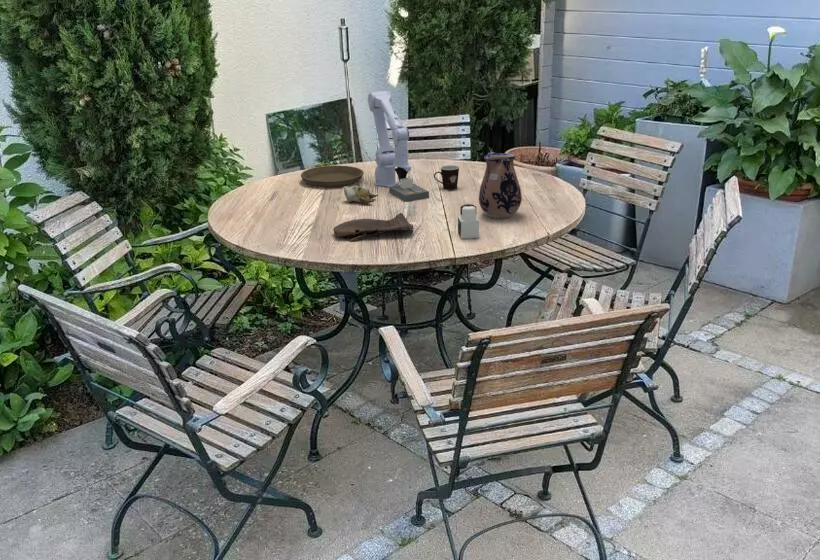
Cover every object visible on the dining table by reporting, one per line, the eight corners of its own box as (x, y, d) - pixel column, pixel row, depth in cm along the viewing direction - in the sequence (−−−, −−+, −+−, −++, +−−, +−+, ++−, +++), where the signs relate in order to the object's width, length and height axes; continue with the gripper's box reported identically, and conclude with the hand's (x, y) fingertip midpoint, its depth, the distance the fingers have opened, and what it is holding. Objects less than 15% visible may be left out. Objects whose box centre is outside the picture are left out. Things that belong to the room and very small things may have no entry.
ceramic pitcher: (494, 224, 288) (495, 163, 278) (466, 211, 305) (466, 153, 296) (529, 217, 295) (531, 157, 286) (500, 204, 313) (501, 147, 303)
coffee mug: (459, 185, 342) (459, 165, 339) (458, 190, 335) (458, 169, 331) (435, 186, 344) (434, 165, 340) (434, 191, 336) (433, 170, 332)
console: (389, 193, 335) (388, 186, 334) (412, 189, 340) (411, 182, 339) (405, 201, 321) (405, 195, 320) (429, 197, 326) (428, 191, 324)
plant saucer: (376, 177, 362) (375, 168, 360) (338, 193, 338) (337, 183, 336) (327, 171, 378) (327, 162, 376) (288, 185, 354) (287, 176, 352)
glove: (334, 244, 273) (333, 231, 271) (332, 227, 292) (332, 215, 290) (416, 238, 277) (416, 226, 275) (409, 222, 295) (409, 210, 293)
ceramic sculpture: (347, 179, 326) (379, 182, 323) (347, 197, 329) (378, 200, 327) (340, 186, 316) (373, 188, 313) (340, 204, 319) (373, 207, 317)
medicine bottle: (457, 233, 280) (457, 203, 275) (475, 232, 281) (476, 202, 276) (460, 239, 274) (460, 208, 269) (479, 238, 274) (479, 207, 269)
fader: (400, 187, 331) (400, 178, 329) (410, 185, 333) (409, 177, 331) (403, 188, 328) (402, 180, 327) (412, 187, 330) (412, 178, 329)
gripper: (386, 152, 333) (387, 181, 338) (400, 158, 321) (401, 188, 326) (400, 150, 336) (401, 178, 341) (414, 156, 324) (415, 185, 329)
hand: (402, 183), depth 334 cm, fingers closed
